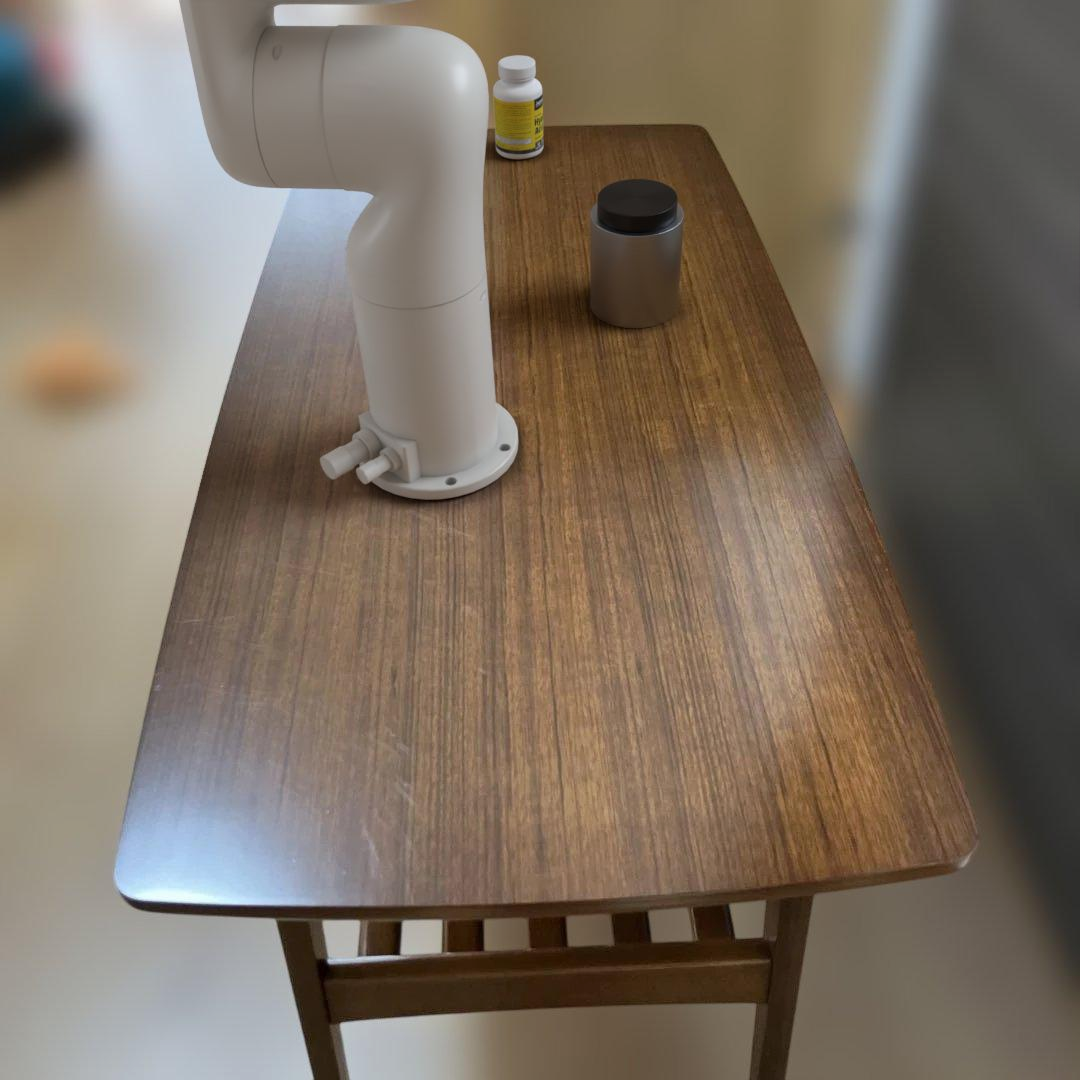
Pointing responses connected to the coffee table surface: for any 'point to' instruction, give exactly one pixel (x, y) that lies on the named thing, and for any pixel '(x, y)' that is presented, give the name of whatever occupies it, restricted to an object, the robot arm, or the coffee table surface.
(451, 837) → the coffee table surface
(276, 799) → the coffee table surface
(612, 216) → the canister
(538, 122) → the supplement bottle
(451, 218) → the robot arm
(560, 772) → the coffee table surface
